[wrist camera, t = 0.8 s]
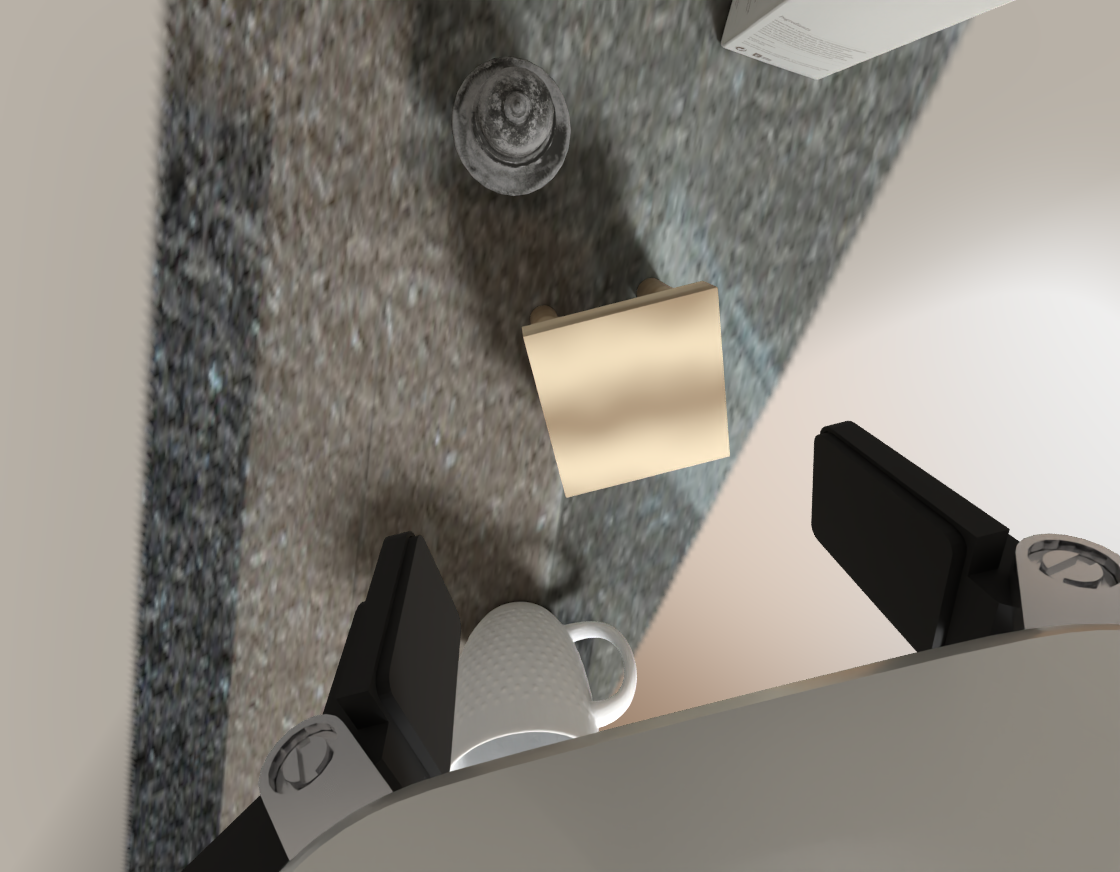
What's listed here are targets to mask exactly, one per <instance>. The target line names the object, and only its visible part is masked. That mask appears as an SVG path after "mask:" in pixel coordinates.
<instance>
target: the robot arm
mask: <svg viewBox="0 0 1120 872" xmlns="http://www.w3.org/2000/svg"><path fill="white" fill-rule="evenodd" d="M811 523H812V524H811V525H812V530H813V533H814V535H815V537H816V538H817V539H818V541H819V542H820V543H821V544H822V545H823V547H824V548H825V549H826V550H827V551H828V552H829V553H830V555H831V556H832V557H833V558H834V559H835V560H836V561H837V562H838V564H839V565H840V566H841V567H842V568H843V569H844V570H845V571H846V573H847V574H848V575H849V576H850V577H851V578H852V579H853V580H854V582H855V583H856V584H857V585H858V586H859V587H860V588H861V589H862V591H863V592H864V593H865V594H866V595H867V596H868V597H869V599H870V600H871V601H872V602H873V603H874V604H875V605H876V606H877V608H878V609H879V610H880V611H881V612H882V613H883V614H884V615H885V617H886V618H888V620H889V621H890V622H891V623H892V624H893V626H894V627H895V628H896V629H897V630H898V631H899V632H900V633H901V635H902V636H903V637H904V638H905V639H906V640H907V641H908V642H909V644H910V645H911V646H912V647H913V648H914V649H915V650H916V651H917V653H913V654H908V655H904V656H900V657H896V658H892V659H888V660H884V661H880V662H875V663H871V664H868V665H863V666H859V667H855V668H851V669H847V670H843V671H839V672H835V673H831V674H827V675H823V676H818V677H814V678H811V679H806V680H802V681H798V682H794V683H790V684H786V685H782V686H778V687H774V688H770V689H766V690H762V691H758V692H754V693H750V694H746V695H742V696H738V697H734V698H730V699H726V700H722V701H718V702H714V703H710V704H706V705H702V706H698V707H694V708H690V709H686V710H682V711H678V712H674V713H671V714H667V715H663V716H659V717H655V718H651V719H647V720H643V721H639V722H635V723H631V724H627V725H623V726H620V727H616V728H612V729H608V730H604V731H600V732H596V733H592V734H588V735H585V736H581V737H577V738H573V739H569V740H565V741H561V742H557V743H554V744H550V745H546V746H542V747H538V748H534V749H530V750H526V751H523V752H519V753H516V754H512V755H508V756H505V757H501V758H497V759H494V760H490V761H487V762H483V763H479V764H476V765H472V766H469V767H465V768H461V769H458V770H454V771H451V772H450V766H451V753H452V740H453V726H454V713H455V700H456V687H457V674H458V661H459V647H460V634H461V623H460V618H459V614H458V612H457V610H456V608H455V605H454V603H453V601H452V599H451V597H450V594H449V592H448V590H447V588H446V586H445V584H444V581H443V579H442V577H441V575H440V573H439V571H438V568H437V566H436V564H435V562H434V560H433V558H432V555H431V553H430V551H429V549H428V547H427V545H426V542H425V540H424V538H423V537H422V536H421V535H418V536H415V535H414V534H413V533H412V532H411V531H408V532H404V533H401V534H397V535H393V536H389V537H386V538H385V540H384V542H383V546H382V549H381V552H380V555H379V559H378V562H377V565H376V568H375V572H374V575H373V578H372V582H371V585H370V588H369V591H368V595H367V598H366V601H365V602H362V603H361V604H360V605H359V606H358V608H357V610H356V612H355V615H354V618H353V622H352V625H351V628H350V631H349V634H348V637H347V640H346V643H345V646H344V650H343V653H342V656H341V659H340V662H339V665H338V668H337V671H336V674H335V678H334V681H333V684H332V687H331V690H330V693H329V696H328V699H327V703H326V706H325V709H324V712H323V715H318V716H313V717H311V718H309V719H307V720H304V721H302V722H301V723H299V724H298V725H296V726H295V727H293V728H292V729H291V730H289V731H288V732H287V733H286V734H285V735H284V736H283V737H282V738H281V739H280V740H279V741H278V742H277V743H276V745H275V746H274V747H273V749H272V750H271V752H270V753H269V754H268V756H267V758H266V760H265V762H264V764H263V766H262V768H261V771H260V777H259V782H258V785H259V791H260V796H259V797H258V798H257V799H256V800H255V801H254V802H253V803H252V804H251V805H250V806H249V807H248V808H247V809H246V810H245V811H243V812H242V813H241V814H240V815H239V816H238V817H237V818H236V819H235V820H234V821H233V822H232V823H231V824H230V825H229V826H228V827H227V828H226V829H225V830H224V831H223V832H222V833H221V834H220V835H219V836H218V837H217V838H216V839H215V840H214V841H213V842H211V843H210V844H209V845H208V846H207V847H206V848H205V849H204V850H203V851H202V852H201V853H200V854H199V855H198V856H197V857H196V858H195V859H194V860H193V861H192V862H191V863H190V864H189V865H188V866H187V867H186V868H185V869H184V870H183V871H182V872H1120V556H1119V555H1118V554H1116V553H1114V552H1112V551H1111V550H1109V549H1107V548H1105V547H1103V546H1101V545H1099V544H1096V543H1093V542H1090V541H1088V540H1085V539H1081V538H1077V537H1072V536H1068V535H1059V534H1039V535H1033V536H1030V537H1027V538H1024V539H1023V540H1022V541H1020V542H1019V541H1018V540H1016V539H1015V538H1013V537H1012V536H1011V535H1009V534H1008V533H1009V528H1007V527H1006V526H1004V525H1003V524H1001V523H1000V522H998V521H997V520H995V519H994V518H993V517H991V516H990V515H988V514H987V513H985V512H984V511H982V510H981V509H979V508H978V507H976V506H975V505H973V504H972V503H971V502H969V501H968V500H966V499H965V498H963V497H962V496H960V495H959V494H958V493H956V492H955V491H953V490H952V489H950V488H949V487H947V486H946V485H944V484H943V483H941V482H940V481H939V480H937V479H936V478H934V477H932V476H931V475H930V474H928V473H927V472H925V471H924V470H923V469H921V468H920V467H918V466H917V465H915V464H914V463H912V462H910V461H909V460H908V459H906V458H905V457H903V456H902V455H901V454H899V453H898V452H896V451H895V450H893V449H892V448H890V447H889V446H888V445H886V444H884V443H883V442H882V441H880V440H879V439H877V438H876V437H874V436H873V435H871V434H870V433H869V432H867V431H865V430H864V429H863V428H861V427H860V426H858V425H857V424H855V423H853V422H852V421H845V422H841V423H837V424H833V425H829V426H825V427H823V428H822V430H821V431H820V434H819V435H817V436H816V437H815V440H814V463H813V492H812V521H811Z"/></svg>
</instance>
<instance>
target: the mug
mask: <svg viewBox="0 0 1120 872" xmlns="http://www.w3.org/2000/svg"><path fill="white" fill-rule="evenodd" d="M594 637H598V638H604V639H606V640H609V641H610V642H612V643H613V644H614V645H615V647H616V648H617V649H618V651H619V652H620V654H621V656H622V659H623V662H624V679H623V683H622V686H621V687H620V689H619V691H618V692H617V693H616V694H615V695H613V696H612V697H610V698H608V699H605V700H602V701H592V694H591V690H590V688H589V683H588V679H587V676H586V673H585V670H584V666H583V663H582V661H581V659H580V655H579V653H578V651H577V649H576V647H575V644H574V642H575V641H578V640H581V639H585V638H594ZM636 682H637V671H636V664H635V659H634V656H633V653H632V650H631V648H630V646H629V644H628V642H627V641H626V639H625V638H624V636H623V635H622V634H621V633H620V632H619V631H618V630H617V629H616V628H614V627H613V626H611V625H609V624H606V623H603V622H597V621H584V622H578V623H572V624H567V625H562V624H561V623H560V622H559V621H558V619H557V618H556V617H555V616H554V615H553V614H552V613H551V612H549V611H548V610H547V609H545V608H543V607H541V606H539V605H537V604H534V603H529V602H512V603H507V604H504V605H501V606H499V607H497V608H495V609H494V610H492V611H491V612H489V613H488V614H487V615H486V616H485V617H484V618H483V619H482V620H481V621H480V622H479V624H478V625H477V626H476V627H475V628H474V630H473V632H472V633H471V634H470V636H469V638H468V641H467V642H466V644H465V645H464V649H463V651H462V653H461V655H460V659H459V662H458V674H457V687H456V700H455V713H454V726H453V740H452V753H451V766H450V772H451V771H454V770H458V769H461V768H465V767H469V766H472V765H476V764H479V763H483V762H487V761H490V760H494V759H497V758H501V757H505V756H508V755H512V754H516V753H519V752H523V751H526V750H530V749H534V748H538V747H542V746H546V745H550V744H554V743H557V742H561V741H565V740H569V739H573V738H577V737H581V736H585V735H588V734H592V733H596V732H599V731H598V730H599V727H603V726H605V725H607V724H610V723H611V722H613V721H615V720H616V719H618V718H619V717H620V716H621V715H622V714H623V713H624V712H625V711H626V710H627V708H628V707H629V705H630V703H631V701H632V699H633V696H634V693H635V689H636Z"/></svg>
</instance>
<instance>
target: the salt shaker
mask: <svg viewBox="0 0 1120 872" xmlns="http://www.w3.org/2000/svg"><path fill="white" fill-rule="evenodd" d="M452 133H453V138H454V143H455V147H456V150H457V152H458V154H459V157H460V159H461V161H462V163H463V165H464V166H465V167H466V169H467V170H468V171H469V173H470V174H471V175H472V177H473V178H475V179H476V180H477V181H478V182H479V183H481V184H482V185H483V186H484V187H486V188H488V189H490V190H492V191H495V192H497V193H499V194H505V195H512V196H516V195H524V194H529V193H531V192H534V191H536V190H538V189H540V188H542V187H543V186H544V185H546V184H547V183H548V182H549V181H550V180H552V179H553V178H554V176H555V175H556V173H557V172H558V171H559V169H560V168H561V166H562V165H563V162H564V160H565V157H566V154H567V152H568V149H569V141H570V134H571V128H570V117H569V111H568V108H567V105H566V102H565V99H564V96H563V94H562V93H561V91H560V89H559V88H558V86H557V84H556V83H555V81H554V80H553V79H552V78H551V77H550V76H549V75H548V74H547V73H546V72H545V71H544V70H543V69H542V68H540V67H539V66H537V65H535V64H533V63H531V62H530V61H528V60H525V59H520V58H515V57H501V58H494V59H492V60H489V61H487V62H485V63H483V64H481V65H479V66H478V67H477V68H476V69H475V70H474V71H473V72H471V73H470V74H469V75H468V76H467V77H466V79H465V80H464V82H463V84H462V86H461V87H460V89H459V91H458V92H457V96H456V99H455V103H454V106H453V110H452Z"/></svg>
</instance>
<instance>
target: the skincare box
mask: <svg viewBox="0 0 1120 872" xmlns="http://www.w3.org/2000/svg"><path fill="white" fill-rule="evenodd" d="M1012 1H1014V0H733V1H732V4H731V8H730V11H729V15H728V18H727V22H726V25H725V29H724V33H723V37H722V40H721V45H722V47H724V48H726V49H729V50H732V51H735V52H738V53H740V54H743V55H746V56H749V57H751V58H754V59H757V60H760V61H763V62H765V63H768V64H771V65H774V66H777V67H780V68H783V69H786V70H789V71H792V72H795V73H798V74H801V75H804V76H807V77H810V78H813V79H816V80H818V79H821V78H823V77H826V76H828V75H830V74H832V73H835V72H838V71H841V70H843V69H845V68H848V67H850V66H853V65H855V64H858V63H860V62H863V61H865V60H868V59H870V58H872V57H875V56H877V55H880V54H883V53H885V52H888V51H890V50H892V49H895V48H898V47H900V46H902V45H905V44H908V43H910V42H912V41H915V40H917V39H919V38H922V37H925V36H927V35H929V34H932V33H934V32H937V31H939V30H942V29H944V28H947V27H950V26H952V25H955V24H957V23H959V22H962V21H964V20H967V19H969V18H972V17H974V16H977V15H979V14H982V13H984V12H987V11H989V10H992V9H994V8H997V7H999V6H1002V5H1005V4H1007V3H1009V2H1012Z"/></svg>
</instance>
